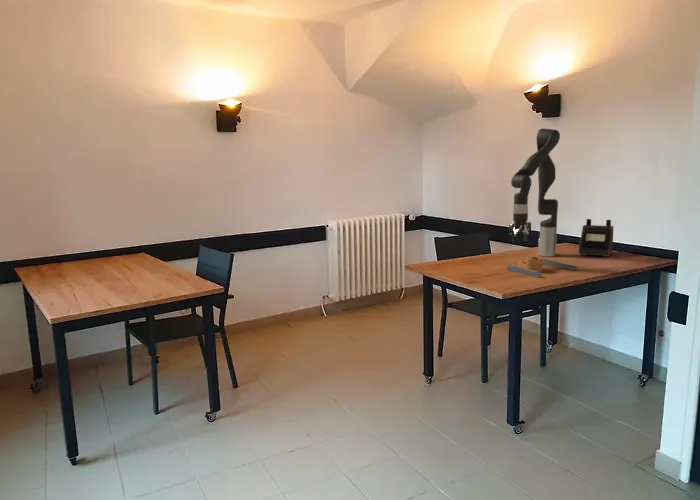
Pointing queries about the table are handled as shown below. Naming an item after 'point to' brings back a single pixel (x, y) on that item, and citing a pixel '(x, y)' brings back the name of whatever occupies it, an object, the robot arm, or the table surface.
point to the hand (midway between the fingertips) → (519, 241)
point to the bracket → (532, 263)
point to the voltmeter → (596, 239)
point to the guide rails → (545, 262)
